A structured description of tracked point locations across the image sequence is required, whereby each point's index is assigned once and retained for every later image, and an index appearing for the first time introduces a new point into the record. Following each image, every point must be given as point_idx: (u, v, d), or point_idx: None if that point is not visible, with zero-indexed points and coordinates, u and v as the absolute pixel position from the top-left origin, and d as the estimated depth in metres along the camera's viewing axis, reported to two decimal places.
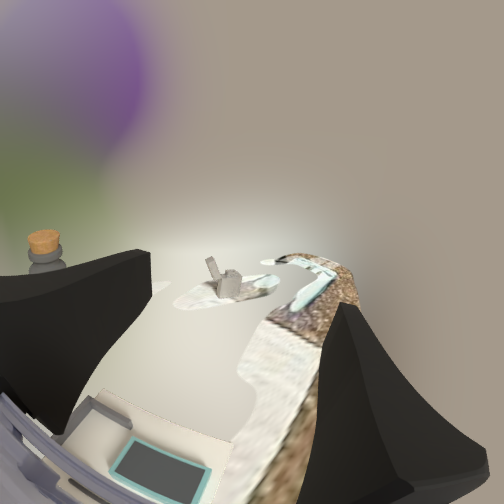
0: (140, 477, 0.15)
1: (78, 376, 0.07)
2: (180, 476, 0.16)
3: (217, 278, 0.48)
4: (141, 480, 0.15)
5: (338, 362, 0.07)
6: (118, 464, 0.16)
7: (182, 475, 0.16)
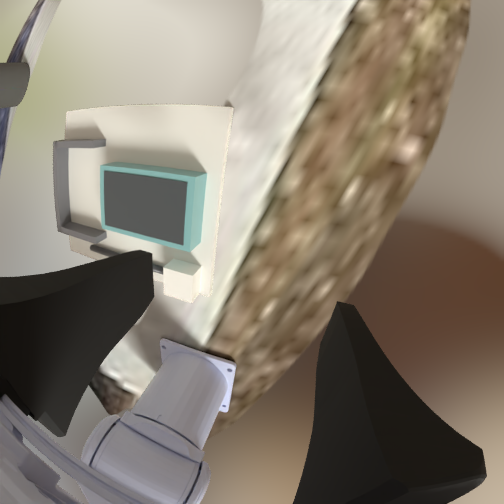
0: (126, 221, 0.18)
1: (80, 377, 0.07)
2: (161, 202, 0.17)
3: None
4: (129, 224, 0.18)
5: (335, 361, 0.07)
6: (104, 212, 0.18)
7: (162, 200, 0.17)
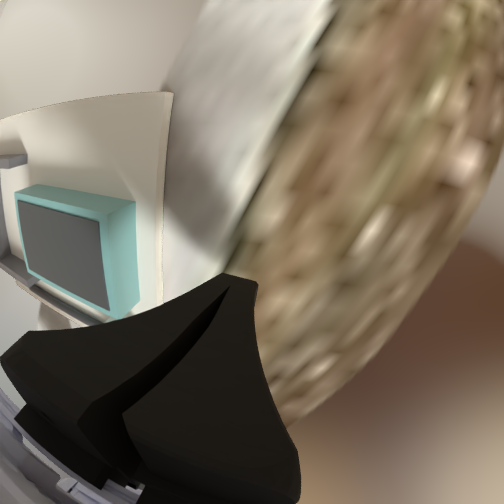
0: (45, 268, 0.11)
1: None
2: (74, 249, 0.10)
3: None
4: (49, 272, 0.11)
5: None
6: (26, 253, 0.12)
7: (75, 247, 0.10)
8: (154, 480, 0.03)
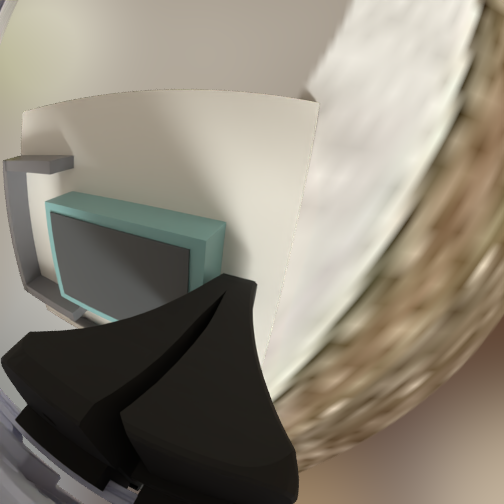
0: (91, 296, 0.10)
1: None
2: (144, 279, 0.09)
3: None
4: (96, 300, 0.10)
5: None
6: (61, 276, 0.11)
7: (145, 276, 0.09)
8: (152, 479, 0.03)
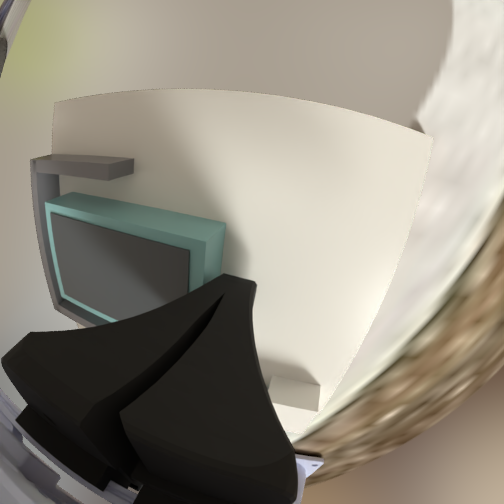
0: (91, 296, 0.10)
1: None
2: (143, 280, 0.09)
3: None
4: (97, 300, 0.10)
5: None
6: (61, 276, 0.11)
7: (145, 277, 0.09)
8: (152, 479, 0.03)
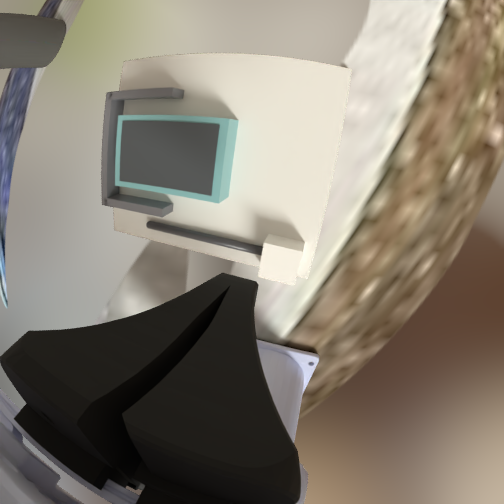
0: (145, 173, 0.16)
1: None
2: (188, 148, 0.15)
3: None
4: (148, 176, 0.16)
5: None
6: (119, 167, 0.16)
7: (190, 146, 0.15)
8: (154, 480, 0.03)
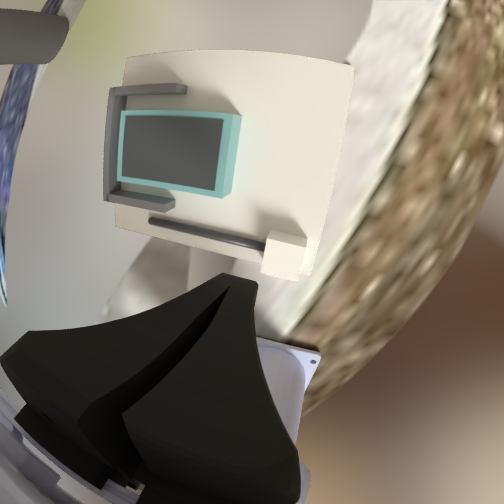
0: (147, 168, 0.16)
1: None
2: (192, 143, 0.15)
3: None
4: (150, 171, 0.16)
5: None
6: (122, 162, 0.16)
7: (193, 141, 0.15)
8: (154, 480, 0.03)
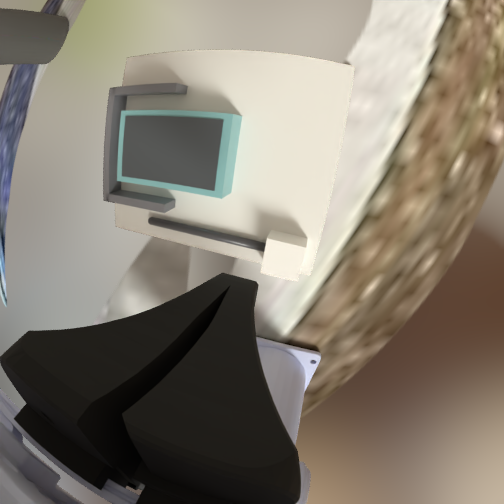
0: (147, 168, 0.16)
1: None
2: (192, 143, 0.15)
3: None
4: (150, 171, 0.16)
5: None
6: (122, 162, 0.16)
7: (193, 141, 0.15)
8: (154, 480, 0.03)
